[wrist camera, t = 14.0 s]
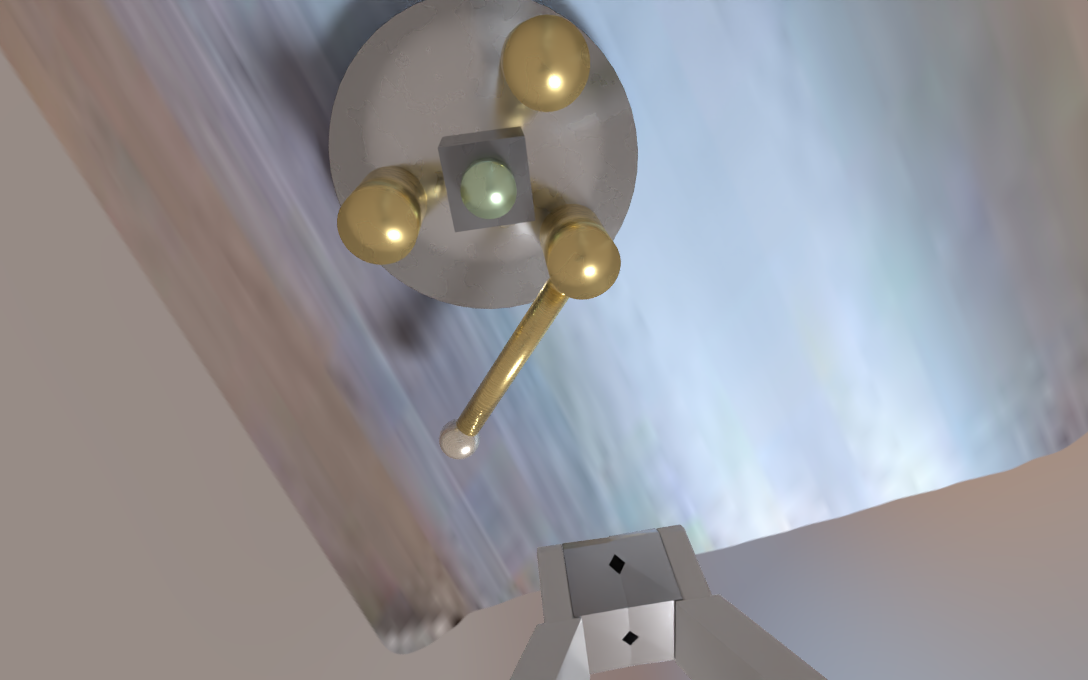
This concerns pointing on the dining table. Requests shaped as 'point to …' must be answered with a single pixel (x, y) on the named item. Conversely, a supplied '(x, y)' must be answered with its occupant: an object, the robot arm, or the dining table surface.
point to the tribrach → (476, 146)
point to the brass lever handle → (541, 311)
